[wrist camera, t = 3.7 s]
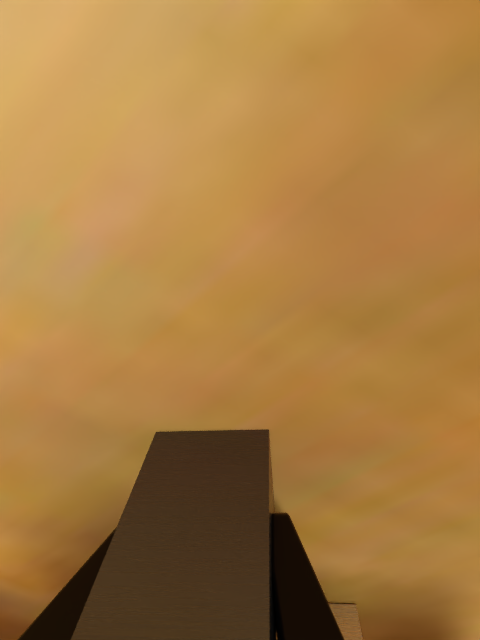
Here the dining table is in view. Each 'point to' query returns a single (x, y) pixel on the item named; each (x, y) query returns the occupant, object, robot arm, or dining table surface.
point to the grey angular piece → (194, 547)
